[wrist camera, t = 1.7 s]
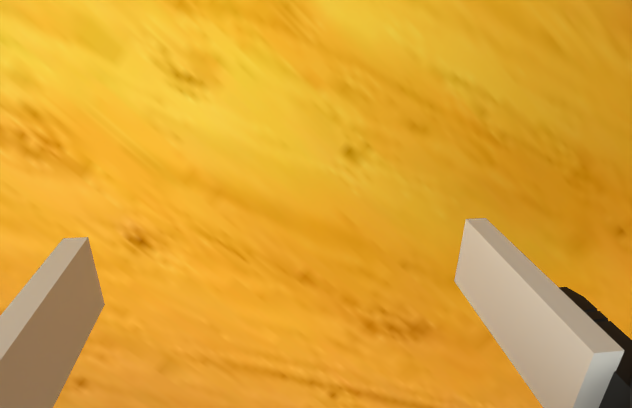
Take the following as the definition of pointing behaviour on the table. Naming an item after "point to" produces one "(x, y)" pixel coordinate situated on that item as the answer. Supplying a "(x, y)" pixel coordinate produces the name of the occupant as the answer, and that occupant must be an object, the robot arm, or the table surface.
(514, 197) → the table surface
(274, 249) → the table surface
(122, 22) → the table surface
